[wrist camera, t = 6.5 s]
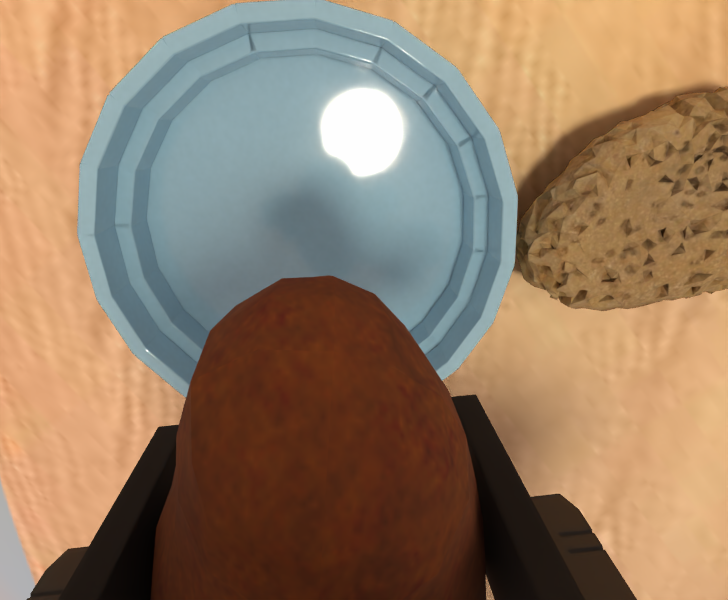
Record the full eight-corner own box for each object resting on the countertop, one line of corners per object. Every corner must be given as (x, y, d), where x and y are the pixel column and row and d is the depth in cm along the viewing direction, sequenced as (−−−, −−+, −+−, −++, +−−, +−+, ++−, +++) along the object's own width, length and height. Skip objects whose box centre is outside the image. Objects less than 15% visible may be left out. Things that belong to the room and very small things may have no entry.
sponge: (834, 94, 28) (559, 35, 23) (1009, 124, 22) (690, 53, 16) (715, 281, 35) (479, 273, 29) (823, 345, 29) (549, 351, 23)
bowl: (483, 369, 32) (508, 410, 28) (168, 398, 32) (140, 446, 27) (491, 8, 25) (528, -18, 20) (74, 38, 24) (11, 17, 19)
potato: (466, 255, 13) (657, 439, 5) (435, 570, 17) (518, 932, 9) (176, 253, 12) (-75, 455, 5) (216, 579, 16) (113, 969, 9)
